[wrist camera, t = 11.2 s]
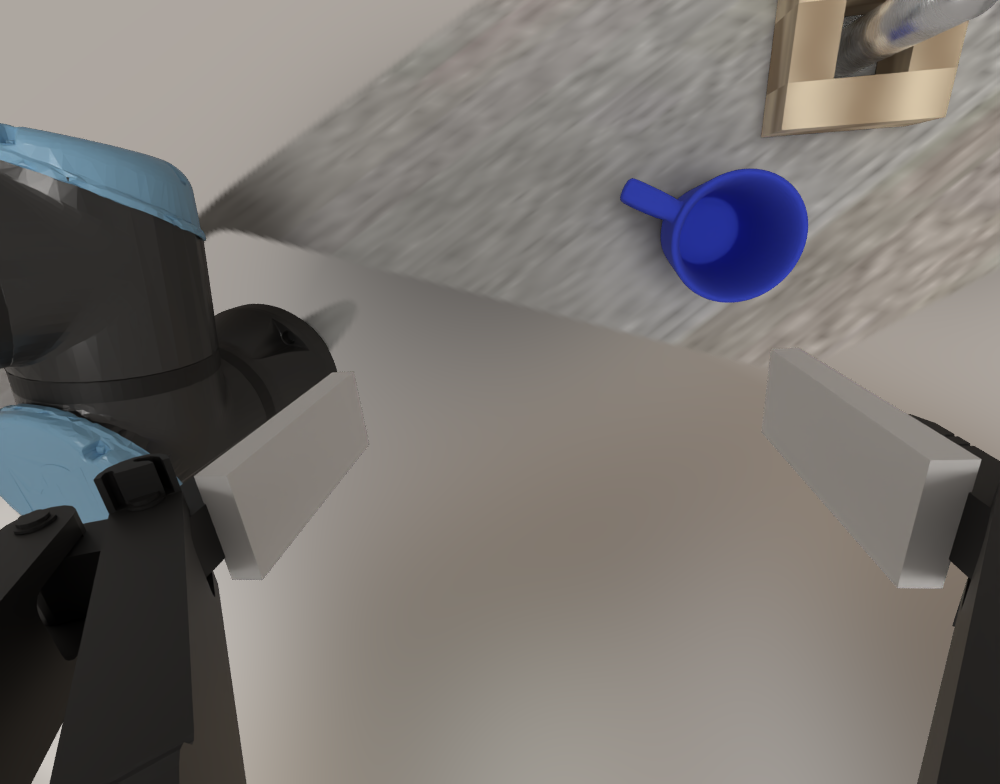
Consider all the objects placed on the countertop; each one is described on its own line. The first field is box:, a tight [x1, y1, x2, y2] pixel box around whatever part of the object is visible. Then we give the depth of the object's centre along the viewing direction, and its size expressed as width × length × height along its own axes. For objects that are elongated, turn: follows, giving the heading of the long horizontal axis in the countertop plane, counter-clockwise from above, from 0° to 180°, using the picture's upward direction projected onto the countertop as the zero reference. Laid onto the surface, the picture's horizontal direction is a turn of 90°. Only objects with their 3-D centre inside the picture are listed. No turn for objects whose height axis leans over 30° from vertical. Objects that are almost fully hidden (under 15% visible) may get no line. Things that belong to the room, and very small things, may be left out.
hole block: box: [761, 0, 969, 137], centre depth 32 cm, size 10×10×4 cm
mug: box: [620, 169, 808, 302], centre depth 35 cm, size 8×12×10 cm
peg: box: [834, 0, 997, 77], centre depth 29 cm, size 3×3×12 cm
